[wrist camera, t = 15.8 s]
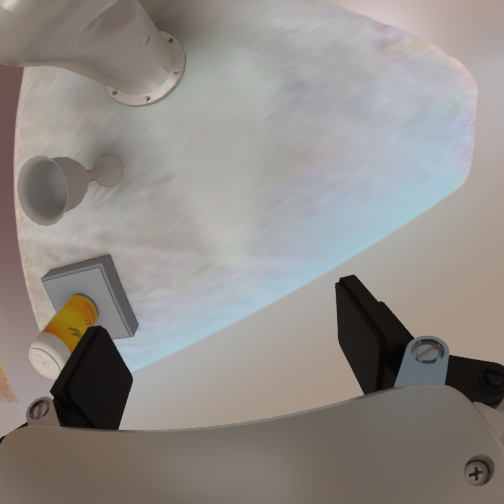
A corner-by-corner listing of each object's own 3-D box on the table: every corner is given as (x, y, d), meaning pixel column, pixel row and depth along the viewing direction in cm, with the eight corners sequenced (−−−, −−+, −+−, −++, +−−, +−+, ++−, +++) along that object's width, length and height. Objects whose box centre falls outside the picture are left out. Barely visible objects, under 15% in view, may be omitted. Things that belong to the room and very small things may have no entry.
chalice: (137, 172, 39) (80, 193, 23) (107, 202, 41) (45, 239, 24) (108, 138, 37) (40, 140, 20) (80, 169, 38) (8, 189, 21)
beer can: (92, 329, 44) (58, 387, 30) (65, 309, 42) (24, 362, 28) (104, 306, 42) (67, 366, 28) (75, 285, 41) (29, 338, 27)
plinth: (50, 270, 44) (39, 279, 40) (109, 254, 44) (100, 264, 40) (80, 333, 49) (72, 344, 45) (138, 324, 49) (133, 338, 45)
